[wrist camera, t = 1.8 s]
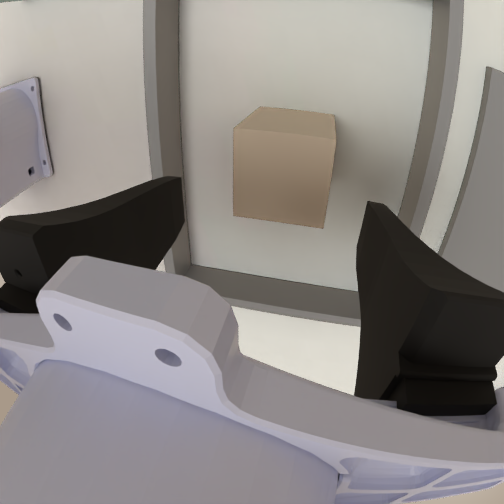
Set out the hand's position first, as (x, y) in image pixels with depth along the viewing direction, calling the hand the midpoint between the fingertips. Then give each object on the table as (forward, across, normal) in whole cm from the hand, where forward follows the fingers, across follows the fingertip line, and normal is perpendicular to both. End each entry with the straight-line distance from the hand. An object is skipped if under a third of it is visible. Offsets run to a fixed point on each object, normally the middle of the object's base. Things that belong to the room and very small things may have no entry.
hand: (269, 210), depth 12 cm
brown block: (+9, 0, 0) cm, 9 cm away
